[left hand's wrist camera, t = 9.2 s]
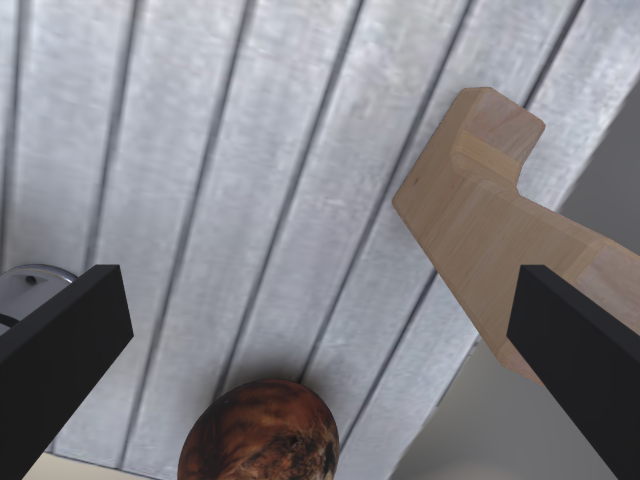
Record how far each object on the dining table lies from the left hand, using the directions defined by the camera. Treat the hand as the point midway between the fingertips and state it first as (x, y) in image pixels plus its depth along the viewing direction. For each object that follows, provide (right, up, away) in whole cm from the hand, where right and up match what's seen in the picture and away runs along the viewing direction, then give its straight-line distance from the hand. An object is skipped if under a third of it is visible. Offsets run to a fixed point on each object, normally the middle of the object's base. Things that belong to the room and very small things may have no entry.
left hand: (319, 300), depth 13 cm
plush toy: (-8, -23, +44) cm, 51 cm away
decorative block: (+15, +11, +32) cm, 37 cm away
